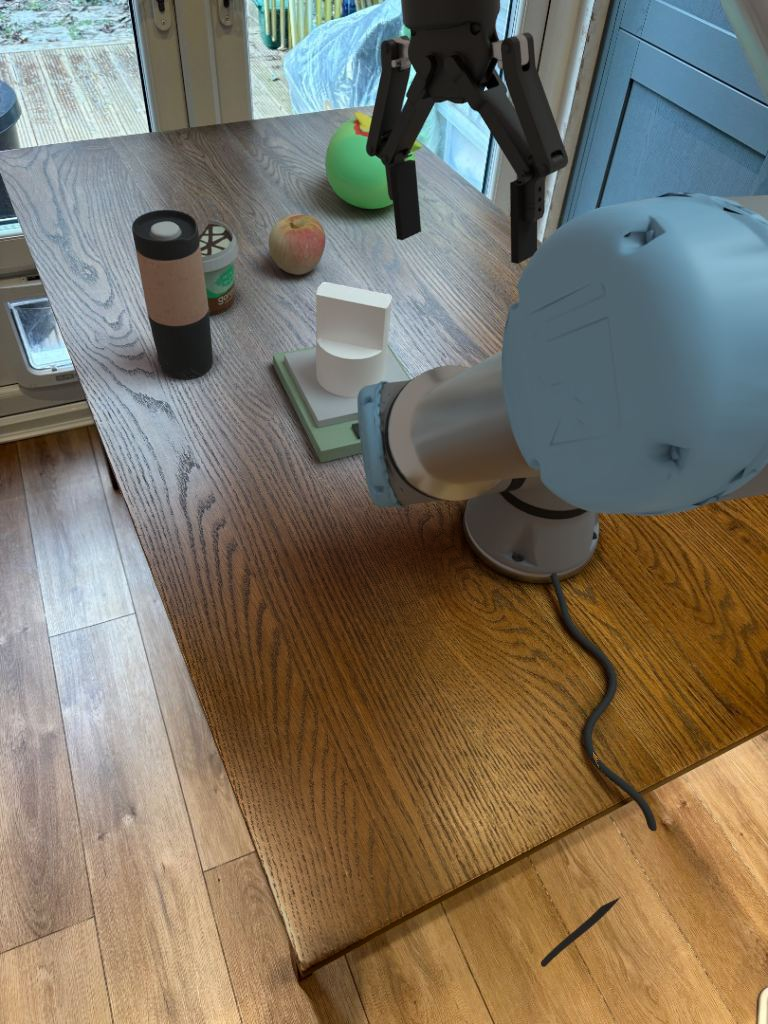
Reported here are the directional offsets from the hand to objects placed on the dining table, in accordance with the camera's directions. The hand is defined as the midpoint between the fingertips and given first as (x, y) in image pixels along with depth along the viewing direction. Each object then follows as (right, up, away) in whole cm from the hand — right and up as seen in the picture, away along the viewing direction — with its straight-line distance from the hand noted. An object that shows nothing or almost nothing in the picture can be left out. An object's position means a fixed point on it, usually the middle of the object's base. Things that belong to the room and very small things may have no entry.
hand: (463, 246), depth 69 cm
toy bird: (-10, +32, +68) cm, 76 cm away
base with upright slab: (-12, -7, +29) cm, 32 cm away
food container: (-32, +7, +44) cm, 55 cm away
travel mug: (-34, -4, +34) cm, 48 cm away
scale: (-11, -9, +31) cm, 34 cm away
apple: (-21, +15, +52) cm, 58 cm away
